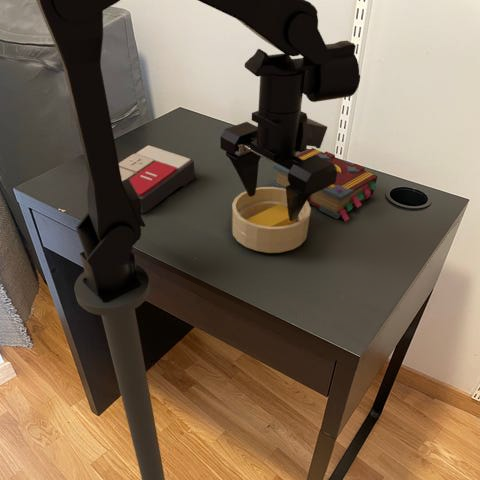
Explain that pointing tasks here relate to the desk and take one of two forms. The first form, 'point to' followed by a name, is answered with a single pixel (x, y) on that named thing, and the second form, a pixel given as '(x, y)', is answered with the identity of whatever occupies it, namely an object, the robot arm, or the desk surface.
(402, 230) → the desk surface
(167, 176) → the calculator
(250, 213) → the bowl
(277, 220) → the block
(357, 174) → the decorative book
